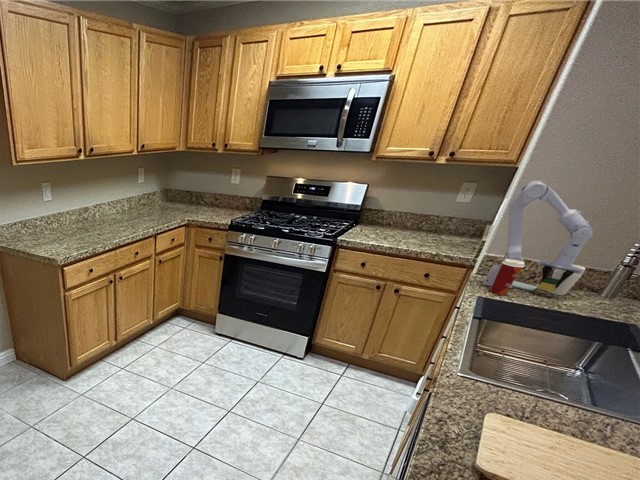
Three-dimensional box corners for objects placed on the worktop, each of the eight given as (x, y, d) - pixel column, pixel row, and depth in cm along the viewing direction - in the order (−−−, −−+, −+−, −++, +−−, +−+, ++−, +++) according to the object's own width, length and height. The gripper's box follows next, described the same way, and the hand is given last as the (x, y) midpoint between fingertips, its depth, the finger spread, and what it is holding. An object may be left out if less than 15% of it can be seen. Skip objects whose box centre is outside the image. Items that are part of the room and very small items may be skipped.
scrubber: (550, 291, 178) (556, 282, 176) (537, 288, 181) (543, 279, 179) (556, 288, 181) (561, 280, 179) (543, 285, 184) (548, 277, 182)
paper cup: (508, 297, 179) (526, 265, 171) (486, 292, 183) (503, 261, 175) (508, 292, 184) (525, 261, 177) (487, 288, 188) (503, 257, 180)
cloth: (502, 283, 194) (503, 282, 193) (508, 281, 197) (509, 279, 197) (530, 291, 186) (531, 290, 186) (537, 288, 190) (537, 286, 190)
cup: (564, 291, 188) (581, 265, 181) (571, 297, 181) (589, 270, 174) (540, 287, 191) (555, 261, 184) (545, 293, 184) (562, 267, 178)
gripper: (543, 251, 176) (525, 282, 184) (587, 260, 166) (567, 292, 174) (548, 249, 179) (530, 279, 187) (592, 258, 169) (572, 289, 177)
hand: (548, 285), depth 180 cm, fingers closed on scrubber, 4 cm apart
